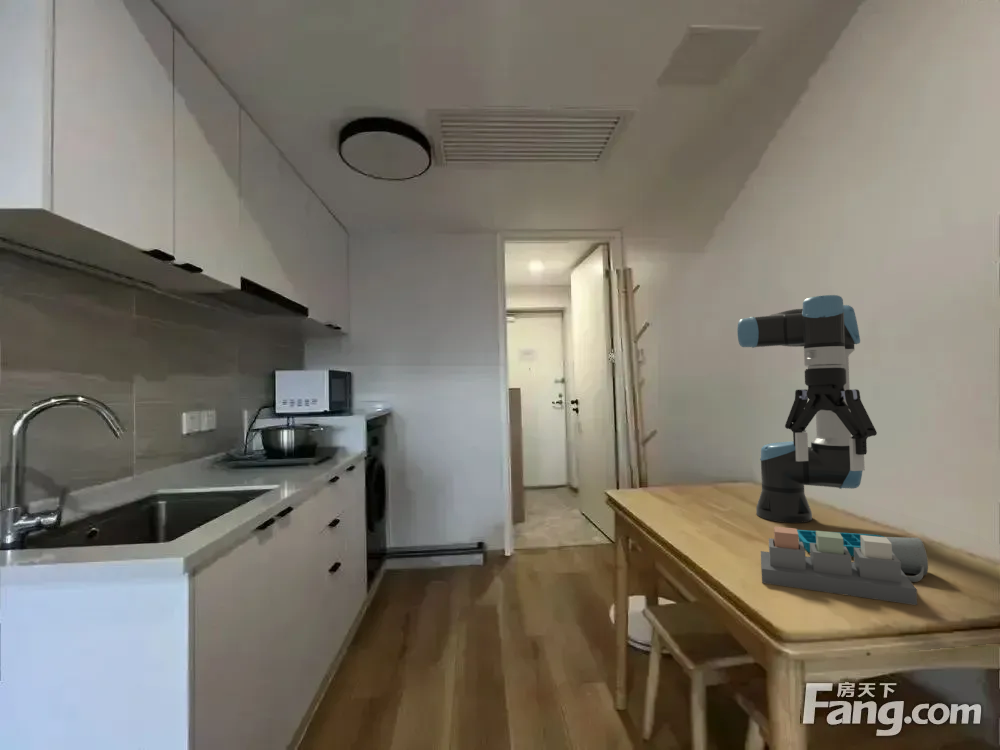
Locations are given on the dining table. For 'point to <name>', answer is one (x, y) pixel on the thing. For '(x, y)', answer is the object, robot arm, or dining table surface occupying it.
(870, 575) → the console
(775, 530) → the terracotta key
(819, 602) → the dining table surface
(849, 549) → the ice cube tray
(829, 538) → the sage key
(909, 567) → the ceramic mug
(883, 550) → the ivory key
